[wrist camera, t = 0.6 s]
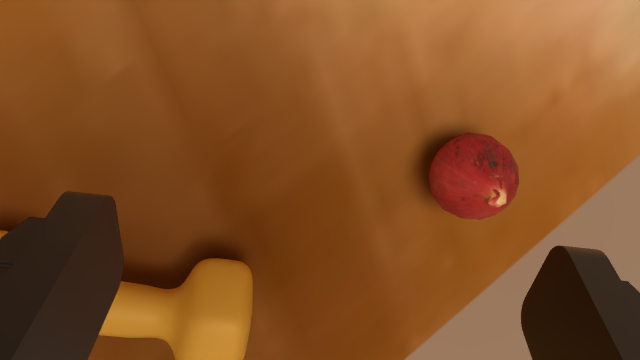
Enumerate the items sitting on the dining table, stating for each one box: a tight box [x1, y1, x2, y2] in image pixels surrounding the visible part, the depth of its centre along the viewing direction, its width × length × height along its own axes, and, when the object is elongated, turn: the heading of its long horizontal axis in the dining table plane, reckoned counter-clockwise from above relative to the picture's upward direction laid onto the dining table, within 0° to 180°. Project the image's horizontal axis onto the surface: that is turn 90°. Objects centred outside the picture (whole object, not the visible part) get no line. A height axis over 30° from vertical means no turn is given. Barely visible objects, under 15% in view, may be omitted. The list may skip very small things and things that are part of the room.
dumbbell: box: [0, 230, 253, 360], centre depth 34 cm, size 19×9×8 cm, turn 77°
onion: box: [429, 133, 519, 220], centre depth 35 cm, size 6×6×8 cm
